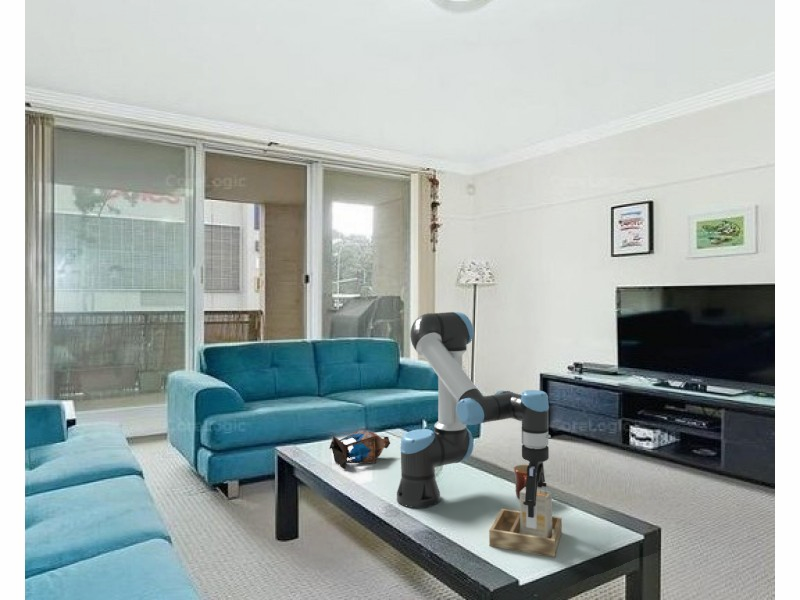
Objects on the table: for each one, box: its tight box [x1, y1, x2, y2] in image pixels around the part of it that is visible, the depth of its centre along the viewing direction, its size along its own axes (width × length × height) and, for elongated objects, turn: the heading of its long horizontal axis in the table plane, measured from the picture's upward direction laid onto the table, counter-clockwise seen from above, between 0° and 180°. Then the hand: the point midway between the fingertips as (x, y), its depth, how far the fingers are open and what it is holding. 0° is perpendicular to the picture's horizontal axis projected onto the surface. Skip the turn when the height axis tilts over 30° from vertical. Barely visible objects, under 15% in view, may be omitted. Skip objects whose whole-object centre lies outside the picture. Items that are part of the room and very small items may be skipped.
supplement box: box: [519, 487, 553, 539], centre depth 156 cm, size 8×5×13 cm, turn 56°
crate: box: [488, 508, 563, 558], centre depth 157 cm, size 18×16×4 cm
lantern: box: [328, 428, 391, 470], centre depth 230 cm, size 16×16×25 cm
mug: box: [513, 464, 529, 500], centre depth 185 cm, size 12×9×10 cm
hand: (535, 517), depth 156 cm, fingers open, 13 cm apart
